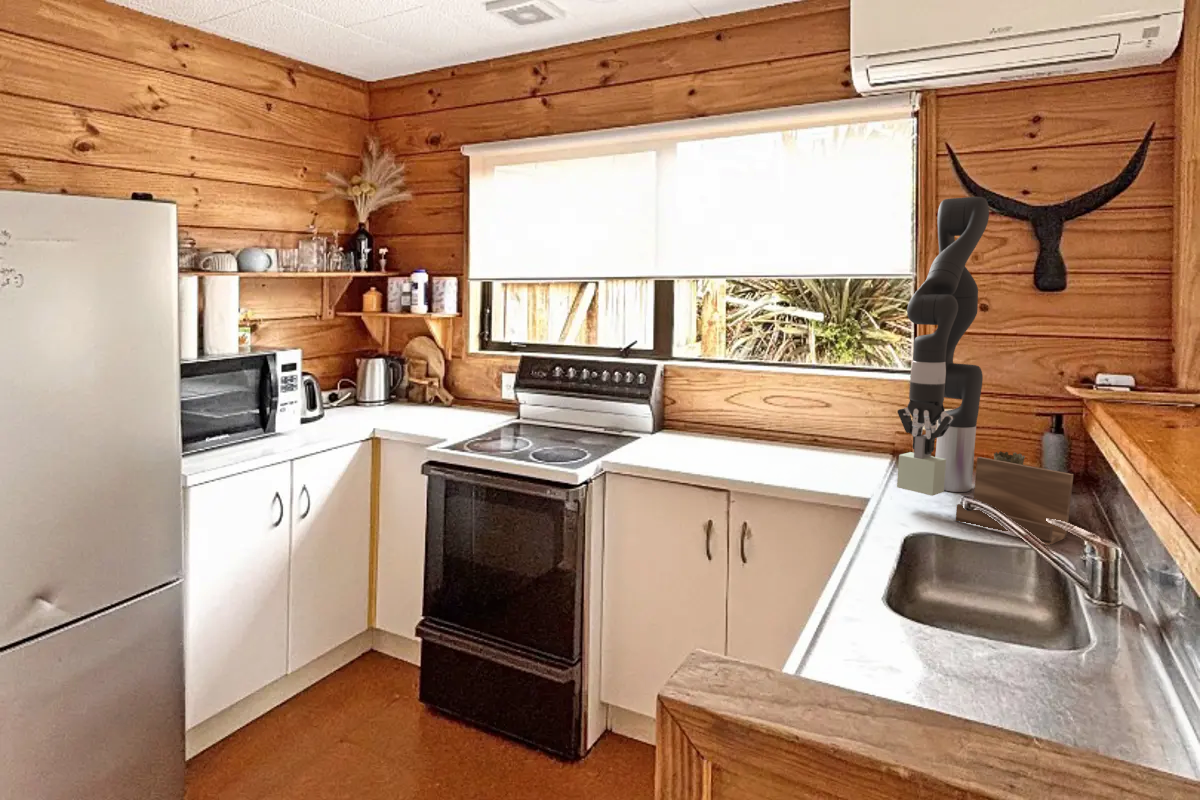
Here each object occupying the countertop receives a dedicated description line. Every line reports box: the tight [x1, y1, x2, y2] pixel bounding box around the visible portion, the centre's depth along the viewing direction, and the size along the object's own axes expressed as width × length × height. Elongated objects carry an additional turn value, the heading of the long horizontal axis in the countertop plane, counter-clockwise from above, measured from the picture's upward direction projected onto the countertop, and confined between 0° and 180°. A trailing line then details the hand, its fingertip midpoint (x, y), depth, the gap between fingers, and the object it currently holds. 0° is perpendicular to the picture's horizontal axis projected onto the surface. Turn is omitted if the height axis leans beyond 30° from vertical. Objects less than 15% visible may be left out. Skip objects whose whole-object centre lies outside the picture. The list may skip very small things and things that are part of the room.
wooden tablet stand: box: [955, 456, 1074, 546], centre depth 169 cm, size 9×20×14 cm, turn 37°
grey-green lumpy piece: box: [993, 451, 1026, 465], centre depth 210 cm, size 8×7×8 cm
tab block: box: [896, 434, 946, 497], centre depth 182 cm, size 5×9×13 cm, turn 37°
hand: (922, 452), depth 181 cm, fingers closed on tab block
